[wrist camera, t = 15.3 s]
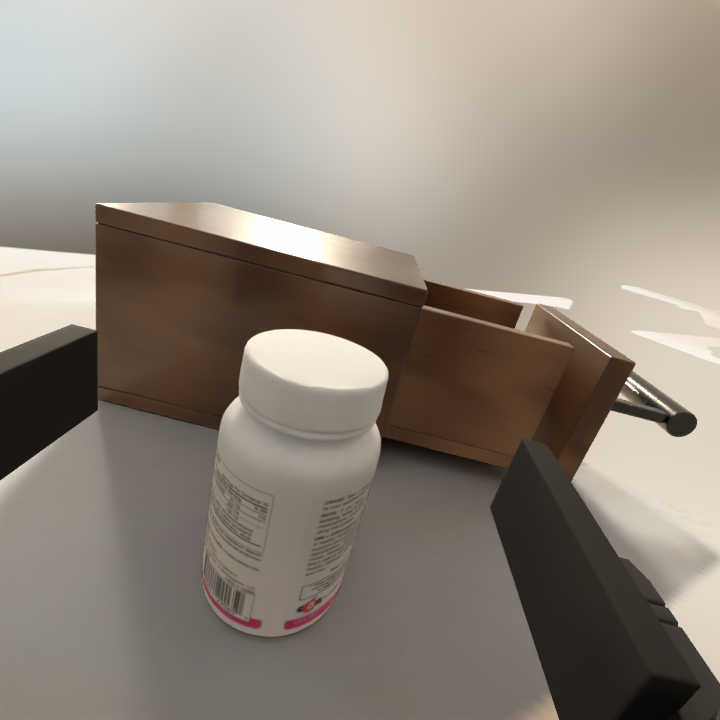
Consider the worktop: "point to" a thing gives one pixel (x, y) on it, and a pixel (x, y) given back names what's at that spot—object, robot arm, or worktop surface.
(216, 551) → the pill bottle
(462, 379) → the drawer
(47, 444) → the robot arm
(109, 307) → the cabinet
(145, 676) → the worktop surface
